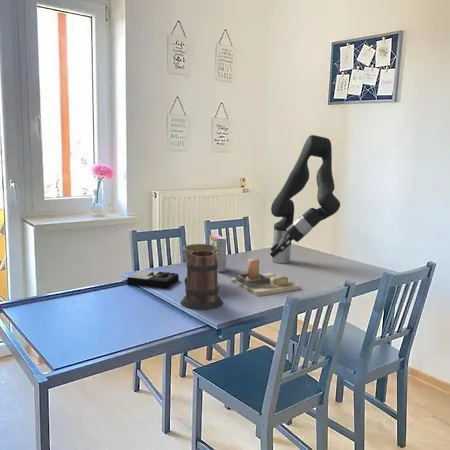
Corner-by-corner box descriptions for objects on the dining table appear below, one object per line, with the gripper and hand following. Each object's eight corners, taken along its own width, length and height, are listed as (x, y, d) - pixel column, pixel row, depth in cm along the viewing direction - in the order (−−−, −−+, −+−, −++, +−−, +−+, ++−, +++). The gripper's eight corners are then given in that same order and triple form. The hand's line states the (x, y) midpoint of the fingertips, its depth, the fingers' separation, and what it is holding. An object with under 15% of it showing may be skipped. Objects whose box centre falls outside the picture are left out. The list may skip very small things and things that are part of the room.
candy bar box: (208, 266, 235) (208, 234, 232) (217, 265, 237) (218, 234, 234) (216, 272, 225) (216, 239, 222) (226, 271, 226) (226, 238, 223)
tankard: (231, 306, 179) (232, 255, 175) (190, 313, 171) (190, 260, 168) (205, 289, 199) (205, 243, 196) (168, 294, 192) (167, 246, 188)
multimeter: (167, 290, 199) (167, 278, 198) (126, 285, 204) (126, 274, 203) (179, 281, 211) (179, 270, 210) (140, 277, 216) (140, 266, 215)
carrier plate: (230, 281, 211) (230, 273, 210) (271, 275, 221) (271, 267, 220) (256, 296, 192) (257, 286, 191) (299, 288, 202) (300, 279, 201)
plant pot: (179, 279, 213) (179, 245, 210) (210, 276, 218) (210, 243, 215) (188, 288, 199) (188, 252, 196) (221, 285, 204) (221, 250, 202)
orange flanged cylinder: (243, 281, 207) (243, 259, 205) (255, 279, 210) (256, 257, 208) (250, 285, 201) (251, 262, 199) (263, 283, 204) (263, 260, 202)
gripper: (293, 219, 206) (266, 243, 209) (294, 225, 192) (265, 251, 195) (304, 231, 206) (277, 255, 209) (306, 238, 192) (277, 264, 195)
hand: (271, 253), depth 202 cm, fingers open, 8 cm apart
